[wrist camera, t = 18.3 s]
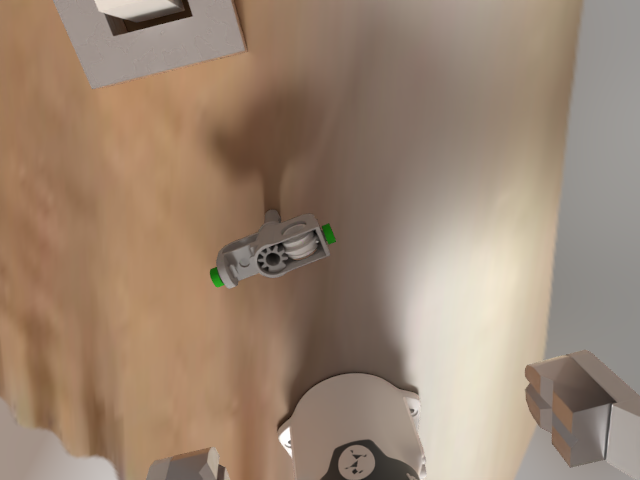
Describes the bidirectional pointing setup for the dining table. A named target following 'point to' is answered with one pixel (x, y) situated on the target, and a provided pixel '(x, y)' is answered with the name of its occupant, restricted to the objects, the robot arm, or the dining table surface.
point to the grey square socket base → (149, 40)
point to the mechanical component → (272, 249)
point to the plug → (139, 8)
